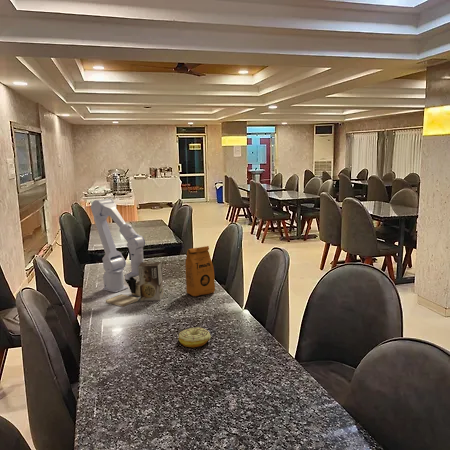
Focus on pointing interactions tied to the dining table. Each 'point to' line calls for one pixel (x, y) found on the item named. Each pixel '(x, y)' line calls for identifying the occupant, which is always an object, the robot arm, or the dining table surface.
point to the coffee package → (199, 272)
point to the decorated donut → (194, 337)
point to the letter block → (137, 289)
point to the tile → (122, 300)
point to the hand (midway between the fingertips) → (139, 290)
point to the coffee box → (150, 281)
